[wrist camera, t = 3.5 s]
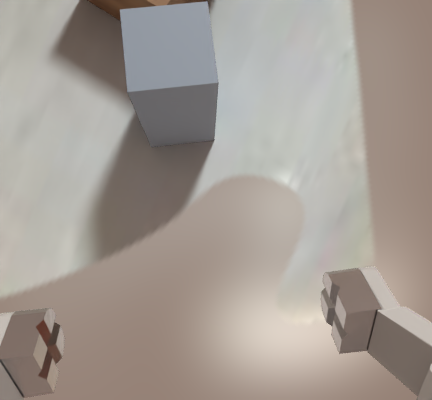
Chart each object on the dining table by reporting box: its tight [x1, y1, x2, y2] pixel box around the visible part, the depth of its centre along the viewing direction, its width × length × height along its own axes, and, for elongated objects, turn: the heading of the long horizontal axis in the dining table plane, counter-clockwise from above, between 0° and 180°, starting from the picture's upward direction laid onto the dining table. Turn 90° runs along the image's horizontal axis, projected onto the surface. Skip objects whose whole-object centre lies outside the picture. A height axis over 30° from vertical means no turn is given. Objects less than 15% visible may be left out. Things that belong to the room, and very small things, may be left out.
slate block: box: [120, 1, 218, 147], centre depth 25 cm, size 4×4×9 cm
